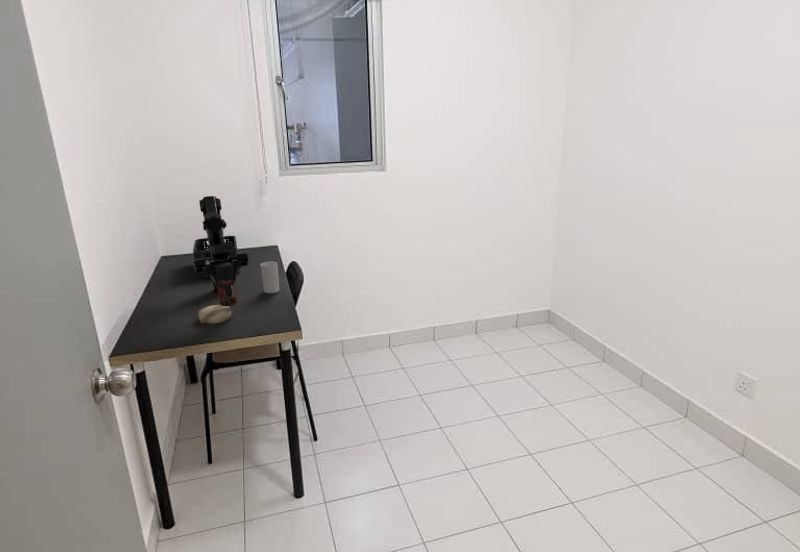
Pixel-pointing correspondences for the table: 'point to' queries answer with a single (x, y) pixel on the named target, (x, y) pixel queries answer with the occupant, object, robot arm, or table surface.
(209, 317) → the beige round flatbread
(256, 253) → the table surface
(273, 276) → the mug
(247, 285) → the table surface
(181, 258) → the table surface
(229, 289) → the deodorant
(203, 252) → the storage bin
